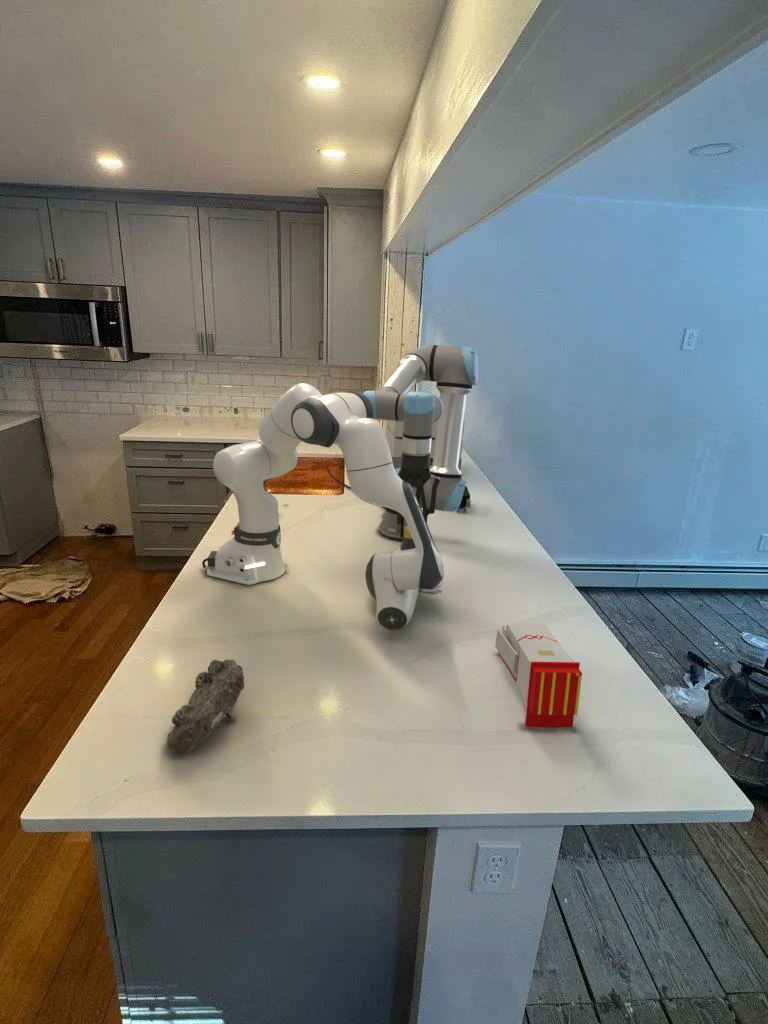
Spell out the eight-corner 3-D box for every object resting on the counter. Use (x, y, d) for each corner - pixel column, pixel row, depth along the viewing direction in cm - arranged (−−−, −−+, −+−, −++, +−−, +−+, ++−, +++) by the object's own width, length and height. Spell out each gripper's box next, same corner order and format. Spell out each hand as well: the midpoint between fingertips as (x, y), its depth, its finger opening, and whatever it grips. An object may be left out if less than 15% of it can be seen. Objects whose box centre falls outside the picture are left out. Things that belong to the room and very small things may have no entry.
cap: (400, 533, 157) (400, 526, 156) (415, 532, 158) (416, 525, 157) (406, 539, 153) (406, 532, 152) (421, 538, 154) (422, 531, 153)
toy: (542, 608, 134) (591, 669, 104) (537, 660, 136) (583, 734, 107) (491, 607, 133) (526, 668, 104) (487, 660, 136) (520, 733, 107)
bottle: (395, 585, 163) (399, 527, 157) (413, 584, 164) (417, 526, 158) (401, 594, 158) (404, 534, 152) (419, 592, 159) (423, 533, 153)
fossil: (192, 660, 117) (244, 628, 112) (224, 691, 120) (276, 661, 115) (142, 746, 98) (202, 712, 93) (182, 779, 101) (242, 748, 96)
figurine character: (470, 516, 223) (465, 500, 237) (473, 499, 220) (467, 484, 233) (453, 516, 223) (449, 500, 236) (455, 498, 220) (451, 483, 233)
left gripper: (443, 582, 144) (447, 560, 157) (364, 573, 147) (374, 552, 160) (441, 604, 146) (445, 581, 159) (363, 595, 149) (373, 572, 162)
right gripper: (448, 451, 151) (442, 532, 159) (383, 447, 151) (380, 529, 159) (450, 458, 144) (443, 543, 152) (382, 454, 144) (378, 539, 152)
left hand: (409, 566), depth 159 cm, fingers closed on bottle, 5 cm apart
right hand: (411, 535), depth 155 cm, fingers closed on cap, 4 cm apart
